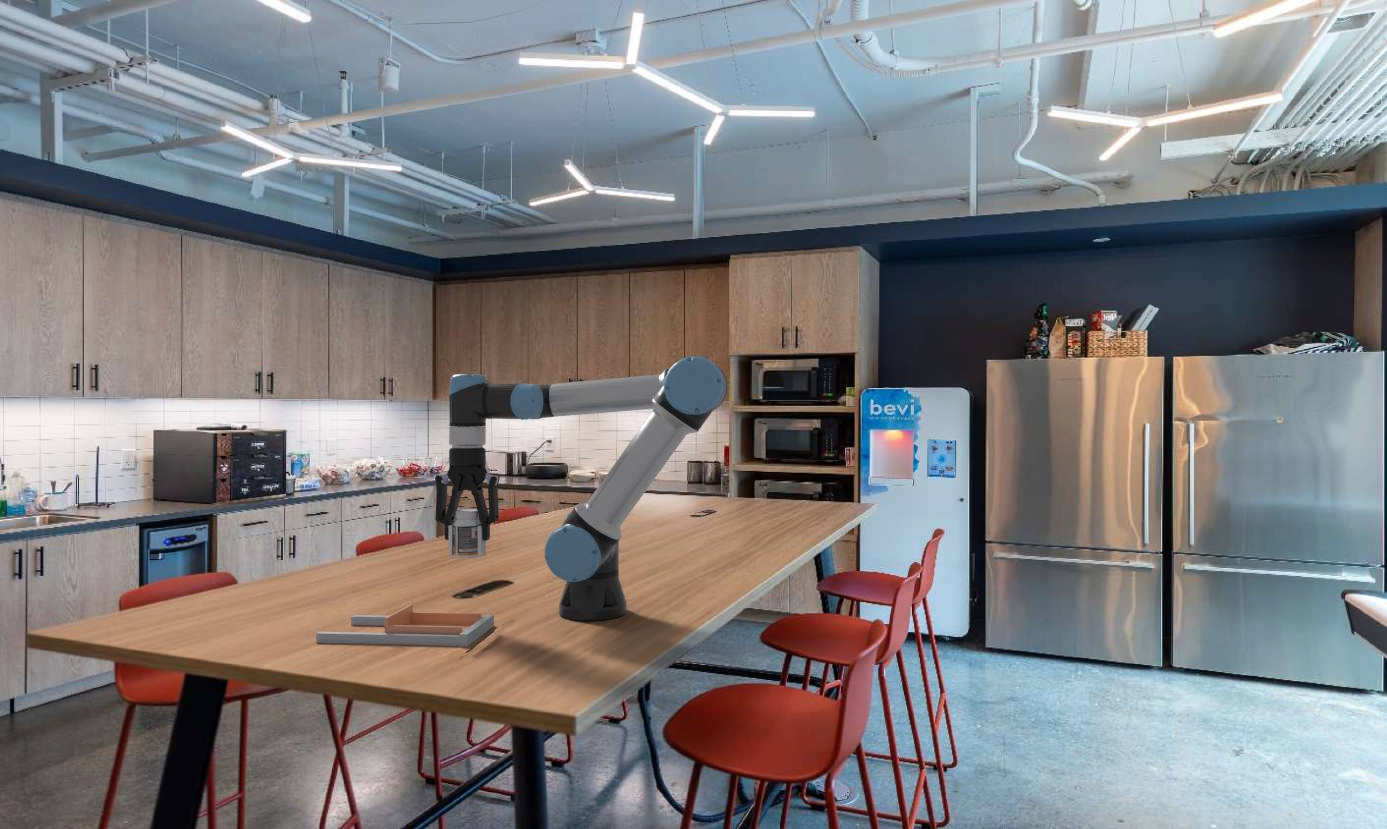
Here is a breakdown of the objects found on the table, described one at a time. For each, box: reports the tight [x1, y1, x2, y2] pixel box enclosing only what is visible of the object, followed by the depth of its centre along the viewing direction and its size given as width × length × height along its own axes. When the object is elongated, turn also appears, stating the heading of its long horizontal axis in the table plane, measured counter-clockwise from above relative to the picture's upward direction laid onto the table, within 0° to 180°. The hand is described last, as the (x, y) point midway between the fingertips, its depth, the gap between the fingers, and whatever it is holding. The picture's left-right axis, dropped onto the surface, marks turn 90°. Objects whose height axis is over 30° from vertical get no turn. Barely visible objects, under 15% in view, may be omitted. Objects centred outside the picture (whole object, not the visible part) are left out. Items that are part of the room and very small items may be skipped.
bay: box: [315, 614, 495, 654], centre depth 163 cm, size 30×15×4 cm, turn 85°
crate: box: [384, 604, 483, 635], centre depth 162 cm, size 15×11×4 cm
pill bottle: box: [453, 508, 481, 560], centre depth 174 cm, size 6×6×10 cm
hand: (467, 555), depth 174 cm, fingers closed on pill bottle, 6 cm apart
